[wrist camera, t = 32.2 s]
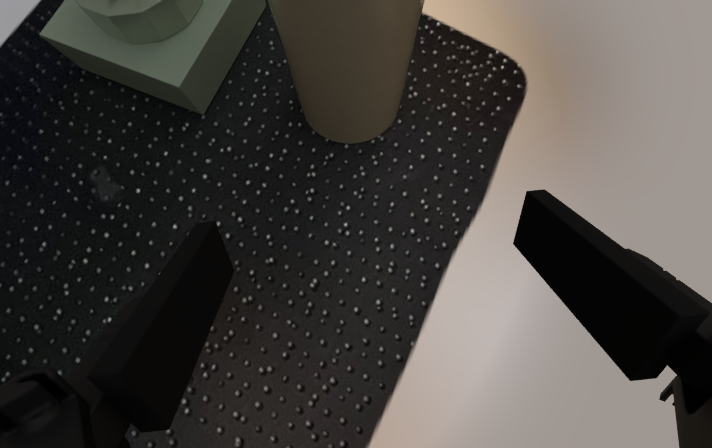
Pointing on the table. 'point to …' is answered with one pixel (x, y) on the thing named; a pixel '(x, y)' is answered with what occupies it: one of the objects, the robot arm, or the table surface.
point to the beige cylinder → (348, 61)
